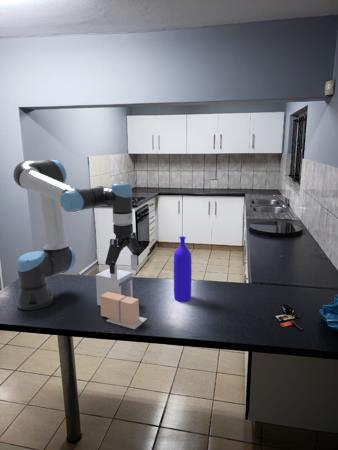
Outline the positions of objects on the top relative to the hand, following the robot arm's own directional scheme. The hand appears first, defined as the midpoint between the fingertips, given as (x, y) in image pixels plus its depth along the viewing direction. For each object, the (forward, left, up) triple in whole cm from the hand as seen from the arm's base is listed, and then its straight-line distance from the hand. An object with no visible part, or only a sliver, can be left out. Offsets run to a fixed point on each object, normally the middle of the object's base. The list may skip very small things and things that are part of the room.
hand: (124, 275), depth 136 cm
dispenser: (-14, +10, -20) cm, 26 cm away
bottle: (+11, +29, -20) cm, 37 cm away
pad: (0, 0, -20) cm, 20 cm away
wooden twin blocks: (-3, 0, -19) cm, 20 cm away
